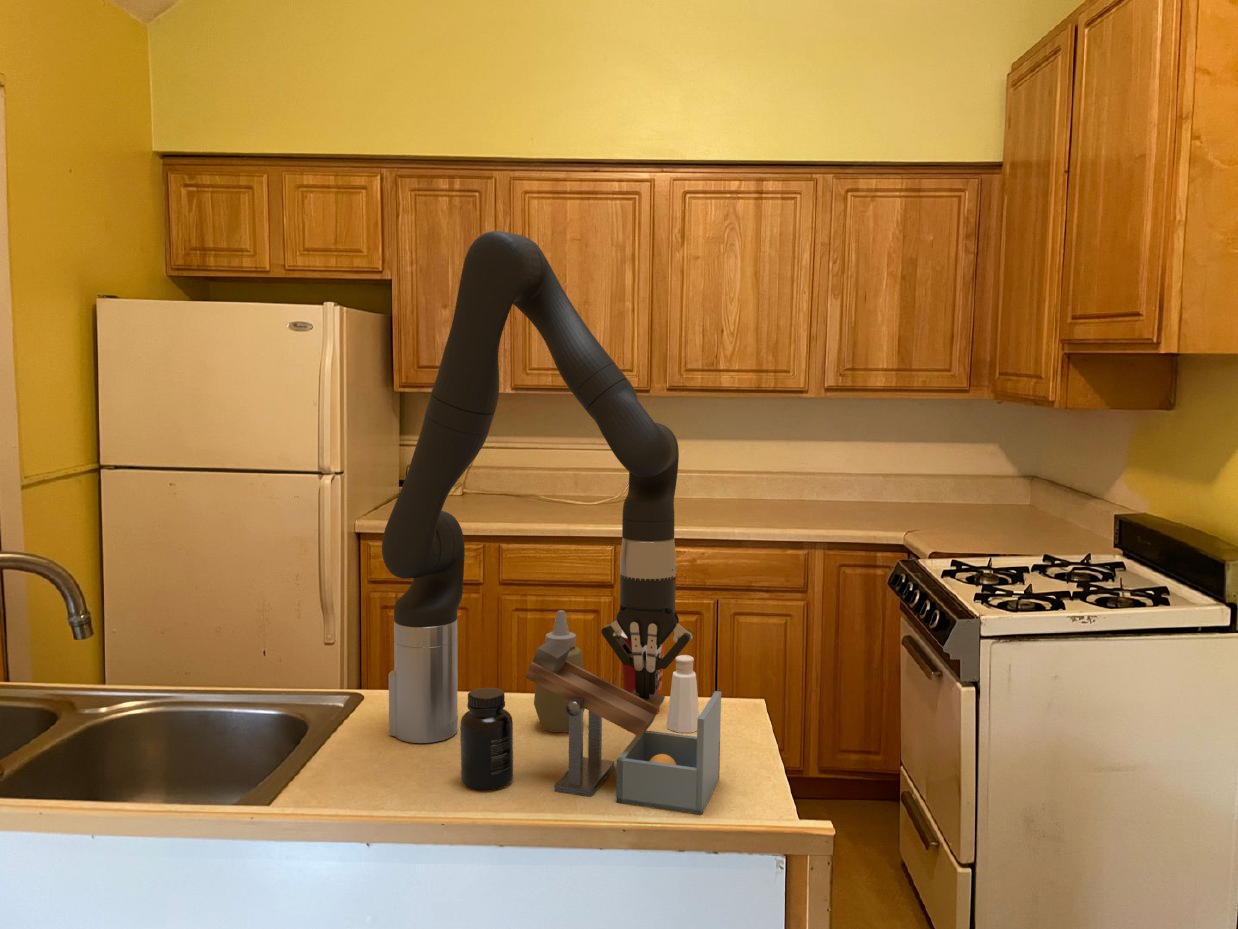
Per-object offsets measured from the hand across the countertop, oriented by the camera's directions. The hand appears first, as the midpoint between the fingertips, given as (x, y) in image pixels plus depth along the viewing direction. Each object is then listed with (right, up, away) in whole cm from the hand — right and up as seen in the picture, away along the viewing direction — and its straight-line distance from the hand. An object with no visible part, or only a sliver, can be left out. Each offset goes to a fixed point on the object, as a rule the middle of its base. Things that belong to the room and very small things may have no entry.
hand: (646, 696), depth 129 cm
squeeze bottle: (-13, -9, +16) cm, 22 cm away
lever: (-7, +1, -1) cm, 7 cm away
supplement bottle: (-21, -10, -4) cm, 24 cm away
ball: (+2, -8, -6) cm, 10 cm away
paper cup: (0, -8, +24) cm, 25 cm away
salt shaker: (+6, -9, +16) cm, 20 cm away
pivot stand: (-8, -10, -3) cm, 13 cm away
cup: (+3, -11, -6) cm, 13 cm away
